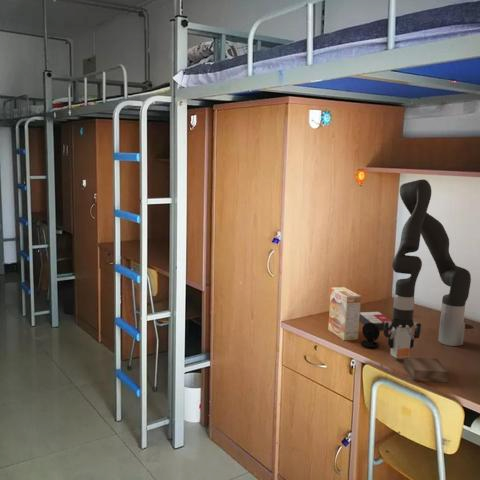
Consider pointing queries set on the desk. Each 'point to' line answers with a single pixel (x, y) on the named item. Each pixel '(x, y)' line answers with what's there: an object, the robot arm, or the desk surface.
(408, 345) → the skincare box
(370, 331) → the webcam
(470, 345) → the desk surface
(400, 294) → the robot arm
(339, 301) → the coffeecake box
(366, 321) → the red and white box
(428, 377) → the walnut base
